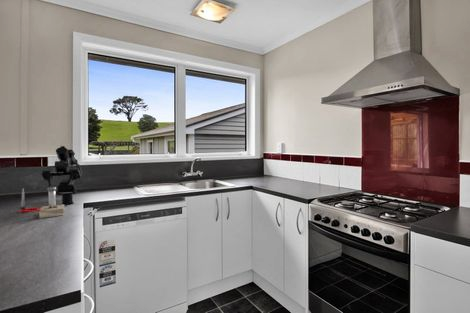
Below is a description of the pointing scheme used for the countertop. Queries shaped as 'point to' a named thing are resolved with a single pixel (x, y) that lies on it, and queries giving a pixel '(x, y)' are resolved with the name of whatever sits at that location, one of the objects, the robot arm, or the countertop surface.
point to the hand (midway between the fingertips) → (59, 185)
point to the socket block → (51, 211)
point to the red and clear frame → (22, 208)
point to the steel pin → (52, 197)
